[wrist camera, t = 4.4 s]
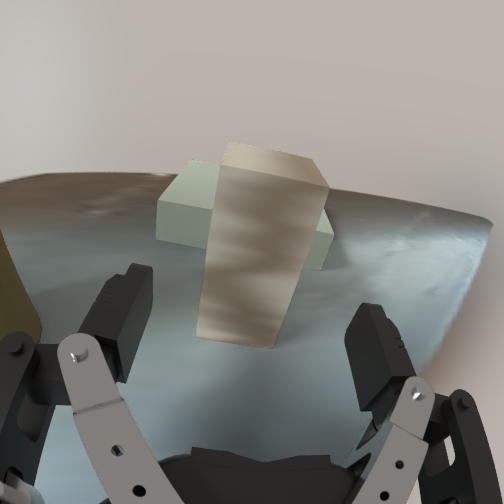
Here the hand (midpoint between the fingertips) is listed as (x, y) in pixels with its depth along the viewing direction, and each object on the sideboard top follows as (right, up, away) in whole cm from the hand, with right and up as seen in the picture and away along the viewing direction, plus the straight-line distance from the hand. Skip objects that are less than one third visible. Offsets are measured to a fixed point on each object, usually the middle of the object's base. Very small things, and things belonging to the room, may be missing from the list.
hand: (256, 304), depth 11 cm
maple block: (-1, -2, +8) cm, 8 cm away
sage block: (-1, +4, +19) cm, 20 cm away
